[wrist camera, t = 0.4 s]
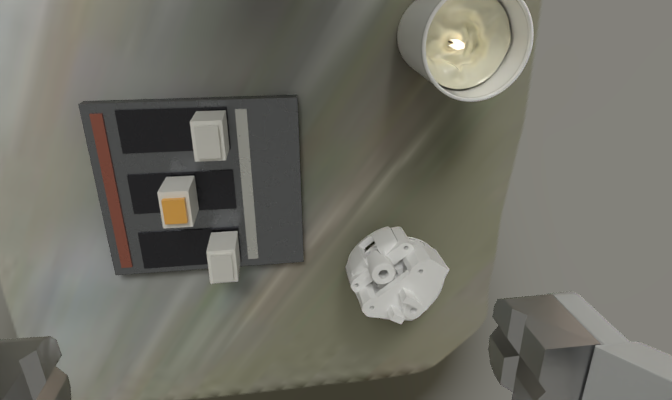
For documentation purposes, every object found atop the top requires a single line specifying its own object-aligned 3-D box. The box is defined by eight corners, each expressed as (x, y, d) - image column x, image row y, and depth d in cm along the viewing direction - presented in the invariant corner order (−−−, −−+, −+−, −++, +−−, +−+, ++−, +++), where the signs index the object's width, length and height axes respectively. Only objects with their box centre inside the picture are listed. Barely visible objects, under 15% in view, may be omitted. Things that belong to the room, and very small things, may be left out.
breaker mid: (166, 176, 51) (155, 194, 47) (194, 175, 52) (187, 193, 47) (171, 210, 53) (161, 231, 48) (198, 209, 53) (192, 229, 49)
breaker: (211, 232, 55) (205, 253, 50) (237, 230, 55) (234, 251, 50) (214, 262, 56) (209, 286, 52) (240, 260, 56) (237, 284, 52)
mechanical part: (381, 309, 64) (403, 372, 54) (325, 252, 60) (337, 308, 49) (448, 260, 63) (485, 314, 52) (396, 197, 58) (425, 242, 47)
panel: (83, 101, 49) (77, 104, 48) (296, 94, 52) (297, 97, 50) (119, 268, 57) (115, 275, 55) (302, 255, 60) (303, 262, 58)
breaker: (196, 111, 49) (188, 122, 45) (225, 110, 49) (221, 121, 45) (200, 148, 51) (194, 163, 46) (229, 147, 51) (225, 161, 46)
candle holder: (380, 72, 52) (410, 92, 41) (401, -25, 48) (440, -32, 38) (462, 87, 54) (512, 110, 43) (489, -5, 50) (550, -6, 39)
